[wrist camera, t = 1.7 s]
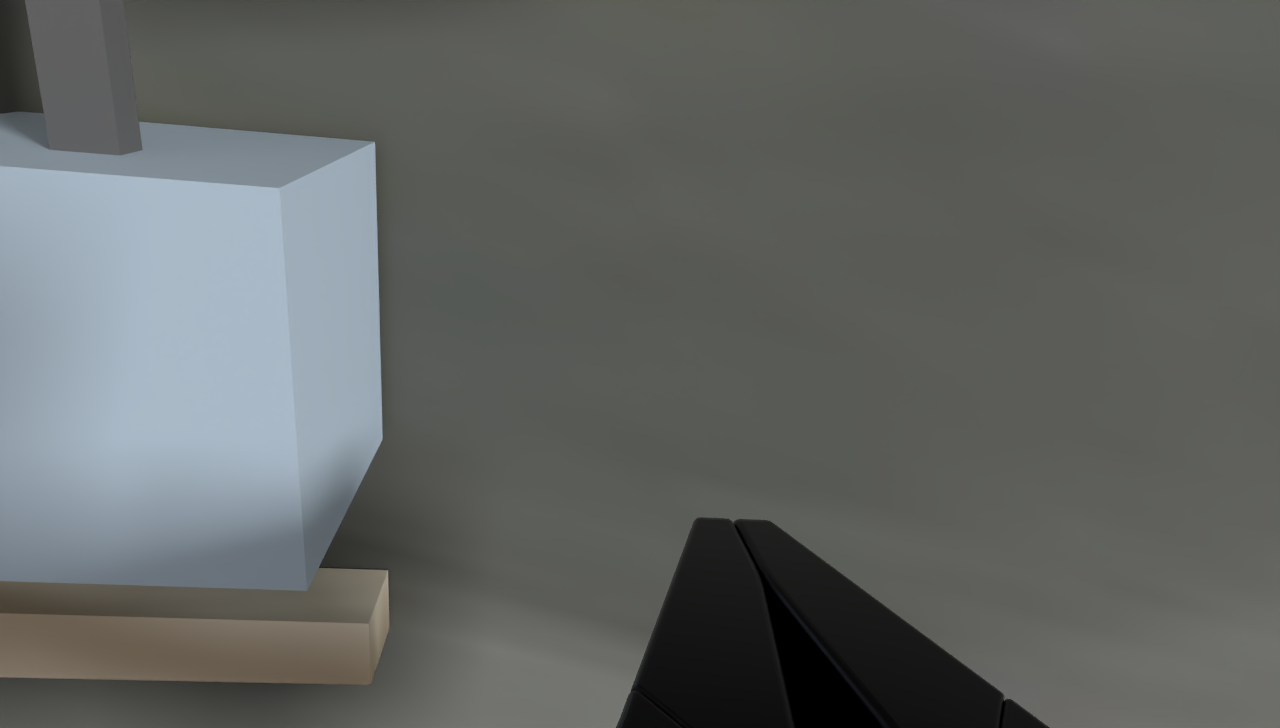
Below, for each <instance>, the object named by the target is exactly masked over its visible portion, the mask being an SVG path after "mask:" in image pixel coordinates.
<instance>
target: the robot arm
mask: <svg viewBox="0 0 1280 728" xmlns="http://www.w3.org/2000/svg"><path fill="white" fill-rule="evenodd" d="M616 728H1049V727H1048V726H1047V725H1045V724H1044V723H1042V722H1041V721H1040V720H1038V719H1037V718H1036V717H1034V716H1033V715H1032V714H1030V713H1029V712H1028V711H1026V710H1025V709H1024V708H1022V707H1021V706H1020V705H1018V704H1017V703H1016V702H1014V701H1013V700H1011V699H1006V700H1005V701H1004V695H1003V693H1002V692H1000V691H999V690H998V689H996V688H995V687H994V686H992V685H991V684H990V683H988V682H987V681H985V680H984V679H983V678H981V677H980V676H979V675H977V674H976V673H975V672H973V671H972V670H971V669H969V668H968V667H967V666H965V665H964V664H963V663H961V662H960V661H959V660H957V659H956V658H954V657H953V656H952V655H950V654H949V653H948V652H946V651H945V650H944V649H942V648H941V647H940V646H938V645H937V644H936V643H934V642H933V641H932V640H930V639H929V638H927V637H926V636H925V635H923V634H922V633H921V632H919V631H918V630H917V629H915V628H914V627H913V626H911V625H910V624H909V623H907V622H906V621H905V620H903V619H902V618H900V617H899V616H898V615H896V614H895V613H894V612H892V611H891V610H890V609H888V608H887V607H886V606H884V605H883V604H882V603H880V602H879V601H878V600H876V599H875V598H874V597H872V596H871V595H869V594H868V593H867V592H865V591H864V590H863V589H861V588H860V587H859V586H857V585H856V584H855V583H853V582H852V581H851V580H849V579H848V578H847V577H845V576H844V575H842V574H841V573H840V572H838V571H837V570H836V569H834V568H833V567H832V566H830V565H829V564H828V563H826V562H825V561H824V560H822V559H821V558H820V557H818V556H817V555H816V554H814V553H813V552H811V551H810V550H809V549H807V548H806V547H805V546H803V545H802V544H801V543H799V542H798V541H797V540H795V539H794V538H793V537H791V536H790V535H789V534H787V533H786V532H784V531H783V530H782V529H780V528H779V527H778V526H776V525H775V524H774V523H772V522H770V521H767V520H748V519H739V520H736V521H734V523H733V522H732V521H731V520H729V519H724V518H697V519H696V520H695V521H694V523H693V525H692V528H691V531H690V533H689V536H688V539H687V541H686V544H685V547H684V549H683V552H682V555H681V557H680V560H679V563H678V566H677V568H676V571H675V574H674V576H673V579H672V582H671V584H670V587H669V590H668V592H667V595H666V598H665V600H664V603H663V606H662V609H661V611H660V614H659V617H658V619H657V622H656V625H655V627H654V630H653V633H652V635H651V638H650V641H649V643H648V646H647V649H646V651H645V654H644V657H643V659H642V662H641V665H640V668H639V670H638V673H637V676H636V678H635V681H634V684H633V686H632V689H631V693H630V694H629V696H628V698H627V701H626V704H625V706H624V709H623V712H622V714H621V717H620V720H619V722H618V724H617V727H616Z"/></svg>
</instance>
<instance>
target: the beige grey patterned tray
mask: <svg viewBox="0 0 1280 728" xmlns="http://www.w3.org/2000/svg"><path fill="white" fill-rule="evenodd" d="M388 631H389V588H388V570H366V569H337V568H318V570H317V572H316V574H315V576H314V578H313V580H312V582H311V584H310V586H309V588H308V590H307V591H296V590H265V589H234V588H202V587H171V586H140V585H108V584H77V583H46V582H14V581H0V677H12V678H59V679H107V680H155V681H202V682H250V683H297V684H345V685H371V683H372V680H373V677H374V674H375V671H376V668H377V665H378V662H379V659H380V656H381V652H382V649H383V646H384V643H385V640H386V637H387V634H388Z"/></svg>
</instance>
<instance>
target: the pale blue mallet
mask: <svg viewBox="0 0 1280 728" xmlns="http://www.w3.org/2000/svg"><path fill="white" fill-rule="evenodd" d="M25 4H26V10H27V16H28V22H29V28H30V34H31V40H32V46H33V52H34V58H35V64H36V70H37V76H38V82H39V88H40V94H41V99H42V105H43V111H44V114H43V113H31V112H11V113H3V114H0V581H14V582H46V583H77V584H108V585H140V586H171V587H202V588H234V589H265V590H296V591H307V590H308V588H309V586H310V584H311V582H312V580H313V578H314V576H315V574H316V572H317V570H318V568H319V566H320V564H321V562H322V560H323V558H324V556H325V554H326V552H327V550H328V548H329V546H330V544H331V542H332V540H333V538H334V536H335V534H336V532H337V530H338V528H339V526H340V524H341V522H342V520H343V518H344V516H345V514H346V512H347V510H348V508H349V506H350V504H351V502H352V500H353V498H354V496H355V494H356V492H357V490H358V488H359V486H360V484H361V482H362V480H363V477H364V475H365V473H366V471H367V469H368V467H369V465H370V463H371V461H372V459H373V457H374V455H375V453H376V451H377V449H378V447H379V445H380V443H381V441H382V439H383V436H382V397H381V359H380V320H379V281H378V242H377V203H376V165H375V142H371V141H359V140H348V139H336V138H324V137H312V136H301V135H289V134H277V133H266V132H254V131H242V130H230V129H219V128H207V127H195V126H184V125H172V124H160V123H148V122H139V118H138V110H137V103H136V95H135V87H134V79H133V71H132V63H131V56H130V48H129V40H128V32H127V24H126V16H125V9H124V1H123V0H25Z"/></svg>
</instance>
